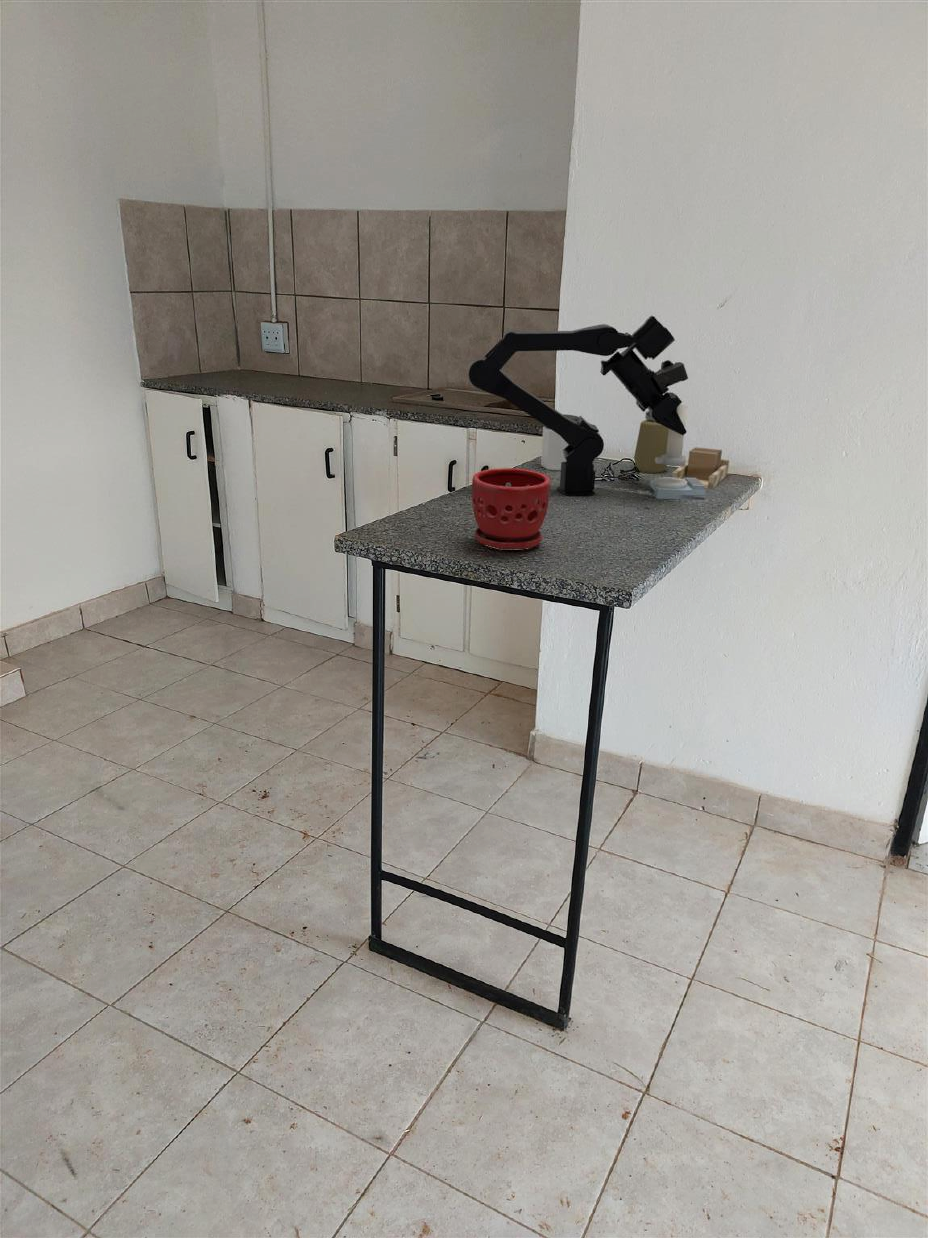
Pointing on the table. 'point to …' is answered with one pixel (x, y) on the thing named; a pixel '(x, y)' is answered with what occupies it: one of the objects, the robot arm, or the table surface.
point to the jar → (553, 448)
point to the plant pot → (509, 507)
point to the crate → (703, 462)
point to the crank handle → (674, 444)
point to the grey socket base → (677, 488)
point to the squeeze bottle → (651, 446)
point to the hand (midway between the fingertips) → (682, 432)
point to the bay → (713, 479)
